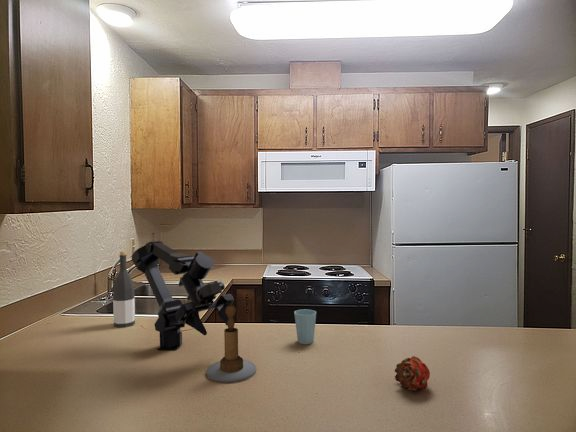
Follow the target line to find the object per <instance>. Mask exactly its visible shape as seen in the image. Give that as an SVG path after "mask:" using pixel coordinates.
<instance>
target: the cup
mask: <svg viewBox="0 0 576 432" xmlns="http://www.w3.org/2000/svg"><path fill="white" fill-rule="evenodd" d="M293 313H294V314H293V315H294V321H295V328H296V329H295V330H296V331H295V332H296V338H297V339H296V340H297V342H298V344H301V345H312V344H313V343H314V340H315V331H316V330H315V329H316V319H317V311H316V310H312V309H306V308H304V309H298V310H294V312H293Z"/></svg>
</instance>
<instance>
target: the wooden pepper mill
mask: <svg viewBox="0 0 576 432" xmlns="http://www.w3.org/2000/svg"><path fill="white" fill-rule="evenodd" d="M225 312H226V315H227V316H228V321H227V325H226V326H227V328H225V329H224V330H223V333H224V335H223V336H224V339H223V340H224V356H223V357H222V358H220V360H219V361H220V370H221V371H223V372H227V373H231V372H237V371H240V370H241V369H242V368H243V360H244V358H242V357H241V356H240V355H239V329H238V328H237V327H235V323H236V321H235V320H234V317H235V315H236V313H237V309H236V307H235V306H234V305H233V304H231V305H230V306H227V307H226V310H225Z"/></svg>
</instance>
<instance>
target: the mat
mask: <svg viewBox="0 0 576 432" xmlns="http://www.w3.org/2000/svg"><path fill="white" fill-rule="evenodd" d="M256 373H257V366H256V364H255V363H254V362H252V361H250V360H246V359H243V368H242V369H241V370H240V371H237V372H231V373H227V372H223V371H221V370H220V360H219V361H215V362H214V363H211V364H210V365H209V366H208V367H207V368H206V376H207V378H208V379H210V380H211V381H213V382H217V383H221V384H222V383H225V384H226V383H227V384H228V383H229V384H231V383H239V382H242V381H243V382H244V381H247V380H249V379H250V378H252V377H254V376H255V374H256Z"/></svg>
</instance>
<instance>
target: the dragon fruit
mask: <svg viewBox="0 0 576 432" xmlns="http://www.w3.org/2000/svg"><path fill="white" fill-rule="evenodd" d="M430 372H431V371H430V369H429V367H428V366H427V364H426V363H424V362H423V361H422V360H421V359H420V358H419V357H417V356H414V355H413V356H411V357H406V358H404V359H403V360H402V361H400V363H397V364H396V366H395V368H394V373H396V374H395V375H394V379H395V381H396V382H399V383H400V385H401V386H403V387H405V388H406V390H408V391H411V392H416V391H417V390H418V389H420V390H422V389H423V390H426V389H427V387H428V380H429V379H430V378H431V377H430V375H431V373H430Z"/></svg>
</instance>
